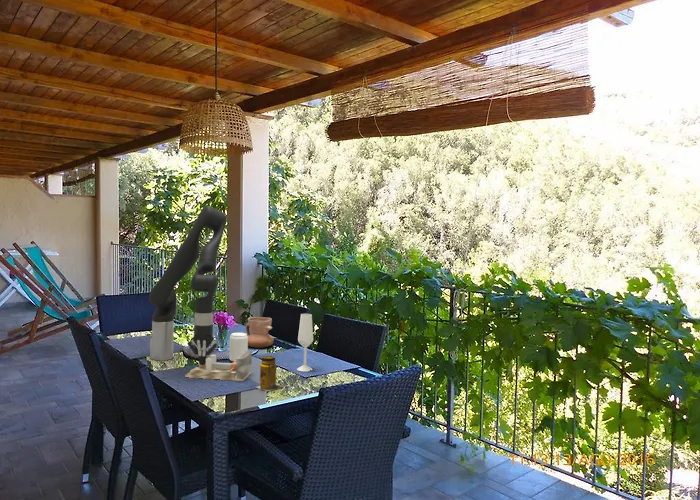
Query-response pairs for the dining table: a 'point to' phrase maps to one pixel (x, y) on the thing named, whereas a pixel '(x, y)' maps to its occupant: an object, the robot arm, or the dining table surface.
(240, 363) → the frame
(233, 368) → the orange stepped bar
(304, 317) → the champagne flute
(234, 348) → the beverage can
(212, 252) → the robot arm
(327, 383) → the dining table surface
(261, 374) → the condiment
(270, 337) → the ceramic jug
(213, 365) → the plunger
